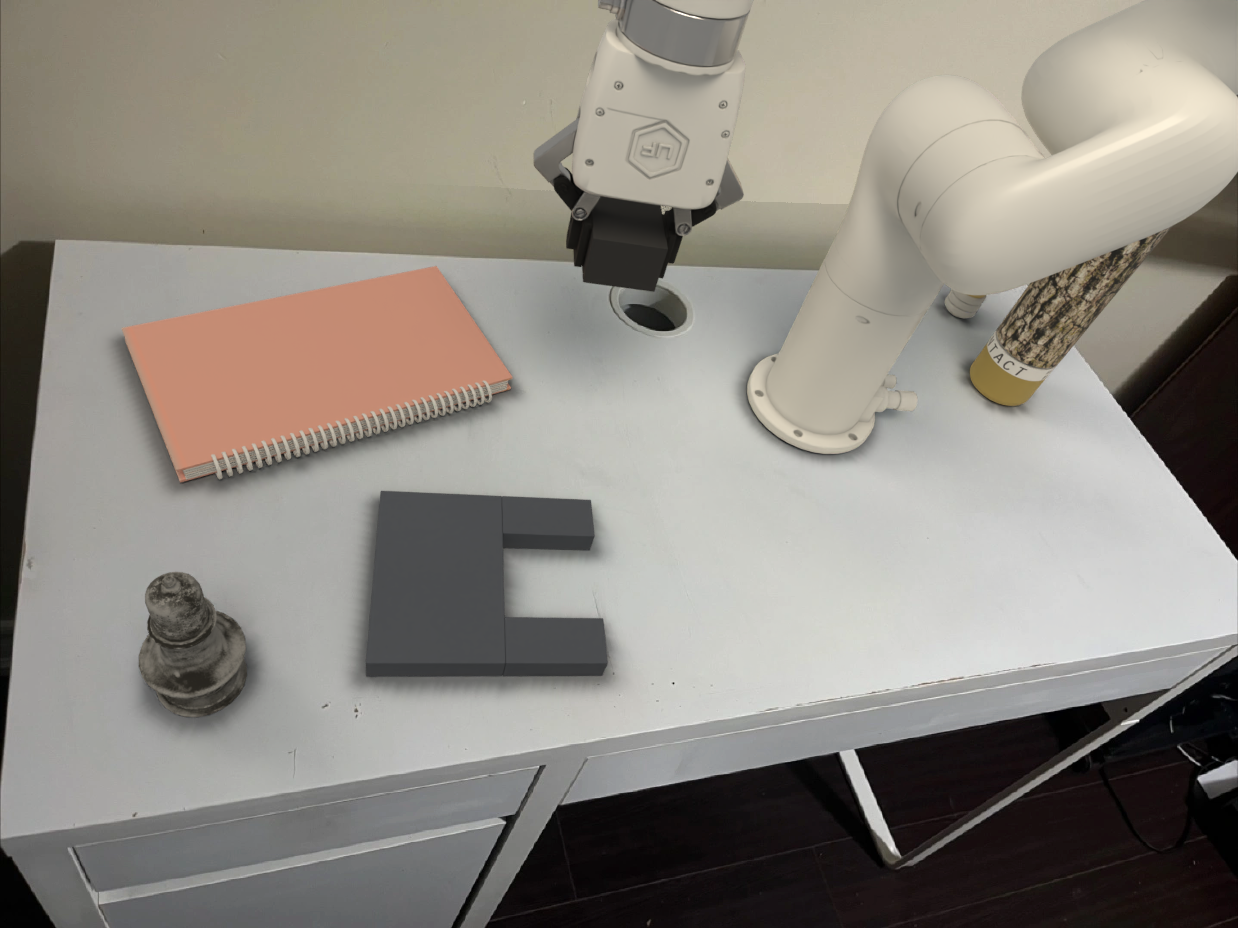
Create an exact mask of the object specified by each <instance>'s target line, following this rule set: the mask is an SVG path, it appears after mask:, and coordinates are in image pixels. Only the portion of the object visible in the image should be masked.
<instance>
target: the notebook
mask: <svg viewBox="0 0 1238 928" xmlns="http://www.w3.org/2000/svg"><path fill="white" fill-rule="evenodd" d="M121 332H122V334H123V337H124V342H125V344H126V347H127V349H128V352H129V355H130V358H131V360H132V362H133V365H134V367H135V370H136V372H137V375H138V378H139V380H140V383H141V386H142V388H143V390H144V393H145V396H146V398H147V401H148V404H149V406H150V409H151V411H152V413H153V416H154V417H153V418H155V422H156V424H157V427H158V429H159V432H160V434H161V437H162V440H163V442H164V444H165V447H166V450H167V453H168V455H169V457H170V460H171V463H172V465H173V468H174V471H175V473H176V475H177V478H178V481H179V483H184V482H189V481H191V480H194V479H198V478H201V477H205V476H209V475H212V474H215V475H216V478H217V479H218V480H222V479H223V473H222V471H226V474H227V475H228V477H233V475H234V474H233V473H234V472H233V468H236V470H237V473H238V474H239V475H240V474H243V473H244V468H243V465H245V466H246V469H247V470H248V471H249V472H250V471H253V470H254V466H253V463H254V462H255V464H256V467H257V468H258V469H261V468H263V466H264V465H263V460H265V463H266V464H267V465H268V466H271V465H272V464H273V457H274V460H275V461H276V462H277V463H281V462H282V461H283V460H282V455H283V456H284V458H285V460H287V461H289V460H291V459H292V453H291V452H293V455H294V456H295V457H296V458H300V457H301V449H302V452H303V453H304V454H305V455H309V454H310V453H311V452H310V447H311V449H312V451H313V452H314V453H317V452H318V451H320V447H321V449H323V450H327V449H328V448H329V444H330V446H331V447H332V448H334V447H336V446H337V445H338V442H339V444H341V445H345V444H346V442H347V440H348V441H349V443H352V442H354V441H355V439H356V438H357V439H358V440H361V439H362V440H363V438H364V435H365V436H366V437H367V438H369V437H371V436H372V435H373V434H375V435H380V433H381V431H382V432H384V433H386V432H388V431H389V430H390V429H391V430H392V431H394V430H397V428H398V426H399V427H400V428H404V427H405V426H406V424H407V425H408V426H410V425H411V426H412V425H413V424H414V422H416V423H421V422H422V420H424V421H428V420H430V418H433V419H436V418H437V417H438V415H439V416H441V417H444V416H445V415H446V413H448V414H452V413H453V412H454V411H455V412H460V411H461V410H462V409H464V410H467V409H468V408H469V406H470V407H471V408H474V407H476V406H477V404H478V405H480V406H482V405H483V404H484V403H491V401H492V399H493V395H496V394H499V393H502V392H506V391H509V390H511V389H512V387H511V385H510V384H509V381H510V380H513V379H514V378H513V375H512V374H511V373H510V371H509V370H508V368H507V366H506V365H505V364H504V362H503V360H502V359H501V358H500V357H499V355H498V354H497V352H496V350H495V349H494V348H493V347H492V344H491V343H490V341H488V339H487V337H486V336H485V335H484V333H483V332H482V330H481V329H480V327H479V325H478V324H477V323H476V322H475V320H474V318H473V317H472V316H471V314H470V313H469V311H468V309H466V306H465V305H464V304H463V303H462V300H460V298H459V296H458V295H457V294H456V292H455V290H454V289H453V288H452V286H451V285H450V284H449V282H448V280H447V279H446V278H445V276H444V275H443V273H442V272H441V270H440V269H439V267H438V266H437V265H433V266H429V267H427V266H426V267H423V268H418V269H413V270H407V271H402V272H398V273H393V274H387V275H383V276H377V277H372V278H366V279H361V280H356V281H352V282H347V283H340V284H336V285H331V286H326V287H321V288H316V289H311V290H305V291H301V292H296V293H291V294H286V295H280V296H275V297H270V298H266V299H265V298H264V299H259V300H254V301H250V302H245V303H240V304H235V305H229V306H225V307H220V308H215V309H208V310H203V311H198V312H194V313H189V314H183V315H179V316H174V317H168V318H164V319H163V318H162V319H159V320H153V321H148V322H143V323H138V324H133V325H128V326H123V327H121ZM487 397H488V399H487ZM479 399H480V400H479ZM472 401H473V403H472ZM464 403H465V405H464ZM456 405H458V407H457V406H456ZM449 408H450V409H449ZM441 410H442V411H441ZM425 414H426V415H425ZM417 416H418V417H417ZM409 419H410V420H409ZM401 421H402V422H401ZM355 436H356V438H355ZM346 438H347V439H346ZM337 440H338V441H337ZM328 443H329V444H328ZM319 444H320V447H319Z"/></svg>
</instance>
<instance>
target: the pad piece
mask: <svg viewBox="0 0 1238 928" xmlns="http://www.w3.org/2000/svg"><path fill="white" fill-rule="evenodd" d="M592 212H593V228H592V232H591V236H590V240H589V245H588V249H587V253H586V258H585V262H584V266H581V270H582V271H581V273H582V274H581V275H582V283H584V284H585V283H586V284H591V285H592V284H593V285H600V286H605V287H606V286H609V287H614V288H623V289H630V290H636V291H645V292H651V293H654V292H656V288H657V285H658V282H659V279H660V278H659V276H660V273H661V269H662V266H663V263H664V260H665V257H666V254H667V251H668V246H667V240H666V236H665V230H664V224H663V218H662V214H663V210H662V206H660V205H653V204H647V203H640V202H634V201H628V200H622V199H615V198H609V197H604V196H601V198H600V199H599V201H598V202H597V204H596V205H595V207H594V208H593V210H592Z"/></svg>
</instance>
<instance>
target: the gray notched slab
mask: <svg viewBox="0 0 1238 928" xmlns="http://www.w3.org/2000/svg"><path fill="white" fill-rule="evenodd" d="M378 505H379V506H378V516H377V528H376V539H375V549H374V550H375V551H374V560H373V561H374V563H373V575H372V585H371V598H370V607H369V608H370V609H369V620H368V630H367V631H368V632H367V642H366V643H367V644H366V655H365V677H370V678H372V677H373V678H374V677H375V678H376V677H381V678H383V677H384V678H386V677H387V678H388V677H392V678H393V677H602V676H603V675H604V673H605V671H606V668H607V666H608V664H609V659H608V651H607V642H606V641H607V640H606V632H605V622H604V618H602V617H601V618H600V617H536V616H535V617H533V616H531V617H529V616H528V617H527V616H525V617H524V616H521V617H520V616H505V579H504V578H505V577H504V576H505V575H504V549H525V550H529V549H530V550H559V551H560V550H562V551H563V550H564V551H591V550H592V549H591V548H592V545H593V542H594V539H595V537H596V535H595V526H594V515H593V506H592V500H591V499H581V498H579V499H578V498H561V497H560V498H557V497H556V498H555V497H533V496H512V495H511V496H510V495H487V494H486V495H485V494H467V493H466V494H465V493H444V492H443V493H442V492H441V493H440V492H419V491H395V490H381V491H380V495H379V504H378Z"/></svg>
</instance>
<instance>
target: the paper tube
mask: <svg viewBox="0 0 1238 928" xmlns="http://www.w3.org/2000/svg"><path fill="white" fill-rule="evenodd" d="M1172 228H1173V226H1171V227H1169V228H1167V229H1165V230H1162V231H1160V232H1158V233H1155V234H1153V235H1151V236H1149V237H1146V238H1144V239H1141V240H1139V241H1136V242H1134V243H1131V244H1129V245H1126V246H1124V247H1121V248H1119V249H1116V250H1114V251H1111V252H1109V253H1106V254H1104V255H1101V256H1098V257H1096V258H1093V259H1091V260H1088V261H1086V262H1083V263H1081V264H1078V265H1076V266H1073V267H1070V268H1068V269H1065V270H1063V271H1060V272H1058V273H1055V274H1053V275H1050V276H1048V277H1045V278H1042V279H1040V280H1037V281H1034V282H1032V283H1029V284H1027V287H1026V288H1025V289H1024V291H1023V292H1022V293H1021V295H1020V296H1019V298H1018V299H1017V300H1016V302H1015V303H1014V305H1013V306H1012V308H1011V309H1010V310H1009V312H1008V313H1007V314H1006V316H1005V317H1004V319H1003V320H1002V322H1001V323H1000V324H999V325H998V327H997V329H996V330H995V331H994V332H993V334H992V335H991V336H990V338H989V340H988V341H987V342H986V344H985V345H984V347H983V348H982V349H981V351H980V352H979V353H978V355H977V356H976V358H975V359H974V361H972V363H971V366H969V367H970V368H969V377H970V381H971V383H972V385H973V386H974V387H975V389H976V390H977V392H979V393H980V394H981V395H983V396H984V397H985V398H986V399H988V400H990V401H992V402H993V403H996V404H999V405H1003V406H1006V407H1007V406H1008V407H1017V406H1020V405H1023V404H1026V403H1027V402H1028V401H1029V400H1030V399H1031V397H1032V396H1033V395H1034V394H1035V393H1036V391H1038V389H1039V388H1040V387H1041V385H1042V384H1043V383H1044V382H1045V381H1046V379H1047V378H1048V377H1049V376H1050V375H1051V374H1052V373H1053V372H1054V370H1055V369H1056V367H1058V365H1059V364H1060V363H1061V362H1062V361H1063V359H1064V358H1065V357H1066V356H1067V354H1068V353H1069V352H1070V351H1071V350H1072V348H1073V347H1074V346H1075V345H1076V343H1077V342H1079V340H1080V338H1081V337H1082V336H1083V335H1084V334H1085V333H1086V332H1087V330H1089V328H1090V327H1091V325H1092V324H1093V323H1094V322H1095V320H1096V319H1097V318H1098V317H1099V316H1100V314H1102V312H1103V311H1104V310H1105V308H1106V307H1107V306H1108V305H1109V304H1110V302H1111V301H1112V300H1113V299H1114V297H1115V296H1116V295H1117V294H1118V292H1119V291H1120V290H1121V289H1122V288H1123V287H1124V286H1125V284H1126V283H1127V282H1128V281H1129V279H1130V278H1131V277H1132V276H1133V274H1134V273H1135V272H1136V271H1137V270H1138V269H1139V267H1140V266H1141V265H1142V264H1143V263H1144V261H1145V260H1146V259H1147V258H1148V256H1149V255H1150V254H1151V253H1152V252H1153V250H1154V249H1155V248H1156V247H1157V245H1158V244H1159V243H1160V242H1161V241H1162V240H1163V238H1164V237H1165V236H1166V235H1167V233H1168V232H1169V231H1170V230H1171V229H1172Z"/></svg>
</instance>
